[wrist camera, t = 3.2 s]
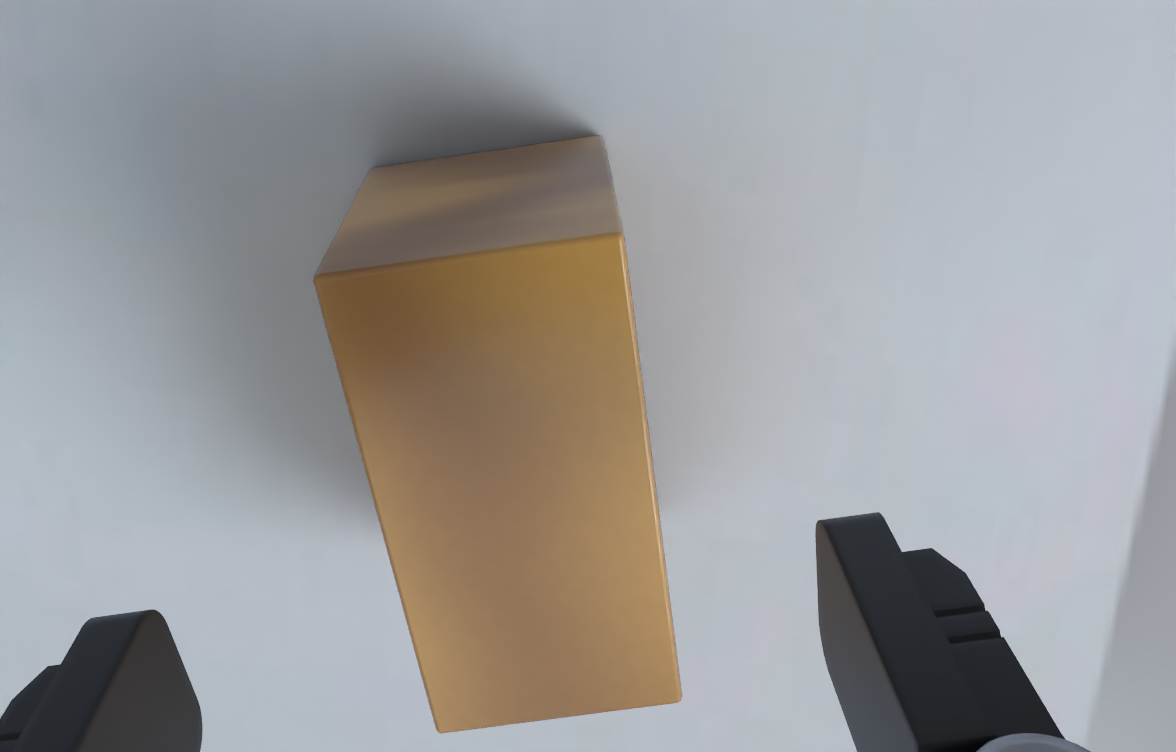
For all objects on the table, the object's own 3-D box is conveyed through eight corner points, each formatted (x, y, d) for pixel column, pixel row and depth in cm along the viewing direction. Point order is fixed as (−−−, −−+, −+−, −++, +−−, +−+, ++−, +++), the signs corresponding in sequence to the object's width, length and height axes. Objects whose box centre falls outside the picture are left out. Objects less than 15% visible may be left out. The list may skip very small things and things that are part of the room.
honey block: (603, 133, 18) (623, 232, 13) (653, 523, 21) (683, 703, 17) (367, 167, 18) (310, 277, 13) (458, 549, 21) (436, 736, 17)
